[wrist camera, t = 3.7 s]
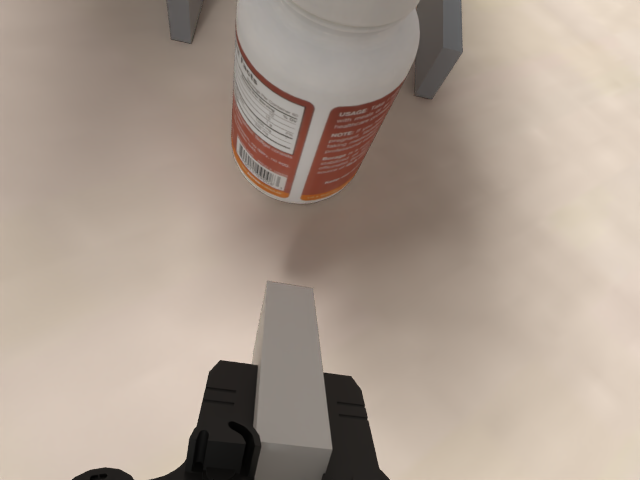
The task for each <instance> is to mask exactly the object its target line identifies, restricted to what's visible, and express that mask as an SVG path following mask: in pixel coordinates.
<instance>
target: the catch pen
mask: <svg viewBox="0 0 640 480" xmlns="http://www.w3.org/2000/svg"><path fill="white" fill-rule="evenodd" d="M202 4H203V0H167V8H168V16H169V25H170V34H171V39H174V40H178V41H182V42H187V43H192V39H193V35H194V32H195V28H196V25H197V21H198V18H199V14H200V11H201V7H202ZM417 15H418V19H419V29H420V38H419V45H418V50H417V53H416V63H415V95H416V96H420V97H424V98H429V99H432V98H433V97H434V95H435V94H436V92H437V91H438V89H439V88H440V86H441V85H442V83H443V81H444V80H445V78H446V77H447V75H448V74H449V72H450V71H451V69H452V68H453V66H454V65H455V63H456V62H457V60H458V59H459V57H460V55H461V54H462V52H463V48H462V11H461V0H420V2H419V3H418V5H417Z"/></svg>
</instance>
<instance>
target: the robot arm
mask: <svg viewBox="0 0 640 480" xmlns="http://www.w3.org/2000/svg"><path fill="white" fill-rule="evenodd" d="M367 418H368V417H367V413H366V408H365V404H364V399H363V395H362V391H361V389H360V388H359V386H358V385H357V384H356V382H355V381H354V379H353V378H352V377H351V376H345V375H338V374H330V373H323V367H322V359H321V351H320V342H319V334H318V326H317V318H316V309H315V301H314V293H313V288H309V287H302V286H296V285H290V284H284V283H277V282H271V281H267V284H266V289H265V294H264V299H263V304H262V309H261V314H260V320H259V325H258V330H257V335H256V340H255V345H254V350H253V359H252V364H245V363H238V362H230V361H222V360H220V361H219V362H218V363H217V364H216V365H215V366H214V367H213V369H212V370H211V371H210V372H209V375H208V380H207V384H206V389H205V393H204V397H203V402H202V406H201V410H200V414H199V419H198V423H197V427H196V428H195V429H194V431H193V433H192V434H191V436H190V438H189V445H188V452H187V459H186V460H185V462H184V463H183V464H182V465H181V466H180V467H178V468H177V469H176V470H175V471H173V472H171V473H169V474H167V475H165V476H162V477H159V478H155V479H151V480H390V479H389V478H388V477H387V476H386V475H385V474H384V473H383V472H382V471H381V470H380V469H379V466H378V461H377V457H376V452H375V448H374V444H373V439H372V435H371V430H370V426H369V421H368V420H367ZM72 480H134V479H133V478H132V476H131V475H129V474H127V473H125V472H124V471H122V470H120V469H113V468H106V467H105V468H99V469H93V470H89V471H87V472H85V473H83V474H80V475H78V476H76V477H74V478H73V479H72Z"/></svg>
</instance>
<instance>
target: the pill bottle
mask: <svg viewBox="0 0 640 480" xmlns="http://www.w3.org/2000/svg"><path fill="white" fill-rule="evenodd" d="M419 2H420V0H238V2H237V12H236V33H235V62H234V81H233V83H234V84H233V108H232V132H231V142H232V151H233V155H234V158H235V161H236V163H237V165H238V167H239V169H240V171H241V172H242V174H243V175H244V177H245V178H246V179H247V180H248V181H249V182H250V183H251V184H252V185H253V186H254V187H255V188H256V189H258V190H259V191H260V192H262V193H264V194H265V195H267V196H269V197H271V198H274V199H277V200H280V201H283V202H288V203H297V204H307V203H314V202H318V201H321V200H324V199H327V198H329V197H331V196H333V195H335V194H337V193H338V192H340V191H341V190H342V189H344V188H345V187H346V185H347V184H348V183H349V182H350V181H351V180H352V178H353V177H354V175H355V174H356V172H357V170H358V169H359V167H360V165H361V163H362V161H363V159H364V157H365V155H366V153H367V151H368V149H369V147H370V145H371V143H372V142H373V140H374V138H375V136H376V134H377V132H378V130H379V128H380V126H381V124H382V122H383V120H384V118H385V116H386V115H387V113H388V111H389V109H390V107H391V105H392V103H393V101H394V99H395V97H396V96H397V94H398V92H399V90H400V88H401V86H402V84H403V82H404V80H405V78H406V76H407V74H408V72H409V70H410V68H411V66H412V64H413V62H414V59H415V57H416V53H417V50H418V45H419V38H420V29H419V19H418V15H417V11H416V8H415V7H416V6H417V5H418V3H419Z"/></svg>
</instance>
